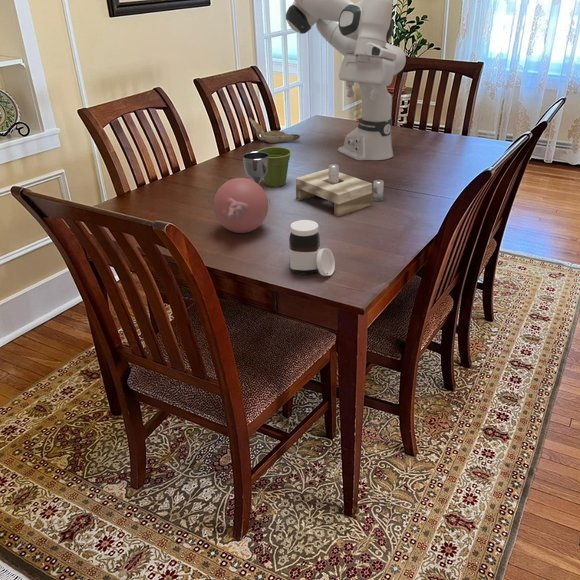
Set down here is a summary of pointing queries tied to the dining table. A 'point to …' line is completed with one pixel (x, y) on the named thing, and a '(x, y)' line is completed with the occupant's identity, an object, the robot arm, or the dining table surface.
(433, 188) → the dining table surface
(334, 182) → the grey peg
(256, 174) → the wine glass
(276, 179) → the plant pot
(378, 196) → the short pin
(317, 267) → the spread jar
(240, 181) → the balloon
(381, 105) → the robot arm
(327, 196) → the board
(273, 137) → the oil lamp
